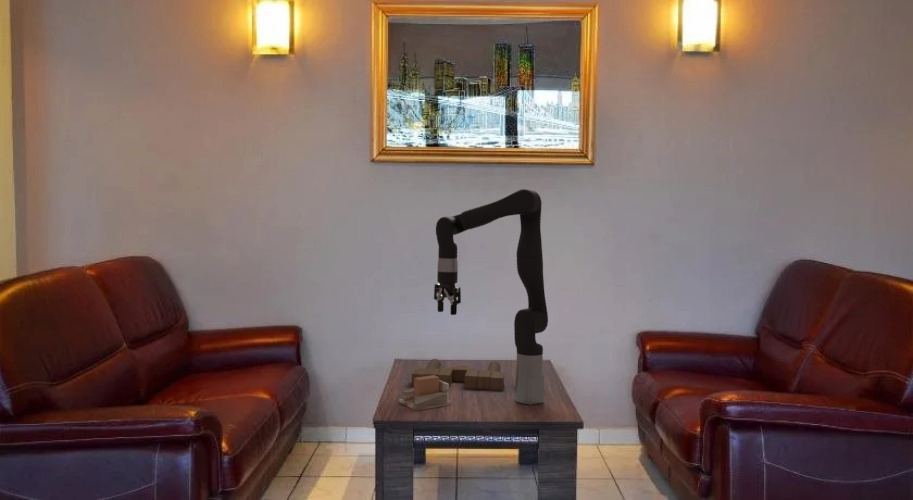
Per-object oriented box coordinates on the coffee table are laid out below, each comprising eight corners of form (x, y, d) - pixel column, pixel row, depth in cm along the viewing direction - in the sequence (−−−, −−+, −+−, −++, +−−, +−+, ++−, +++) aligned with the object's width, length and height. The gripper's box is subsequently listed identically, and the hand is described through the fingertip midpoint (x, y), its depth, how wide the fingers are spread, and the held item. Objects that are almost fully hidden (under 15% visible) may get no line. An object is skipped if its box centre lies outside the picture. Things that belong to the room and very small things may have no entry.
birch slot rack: (450, 404, 240) (451, 384, 240) (415, 410, 232) (416, 390, 232) (432, 396, 250) (433, 377, 250) (398, 401, 242) (398, 382, 242)
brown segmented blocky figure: (503, 391, 260) (506, 373, 290) (503, 377, 260) (506, 360, 289) (411, 387, 264) (423, 369, 294) (411, 373, 264) (423, 356, 293)
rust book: (438, 399, 242) (439, 377, 242) (419, 403, 238) (419, 380, 237) (433, 397, 245) (433, 375, 245) (413, 400, 241) (414, 377, 240)
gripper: (466, 271, 255) (466, 315, 256) (445, 268, 266) (444, 310, 267) (450, 272, 251) (449, 316, 252) (428, 269, 262) (428, 311, 263)
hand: (446, 313), depth 259 cm, fingers open, 8 cm apart
